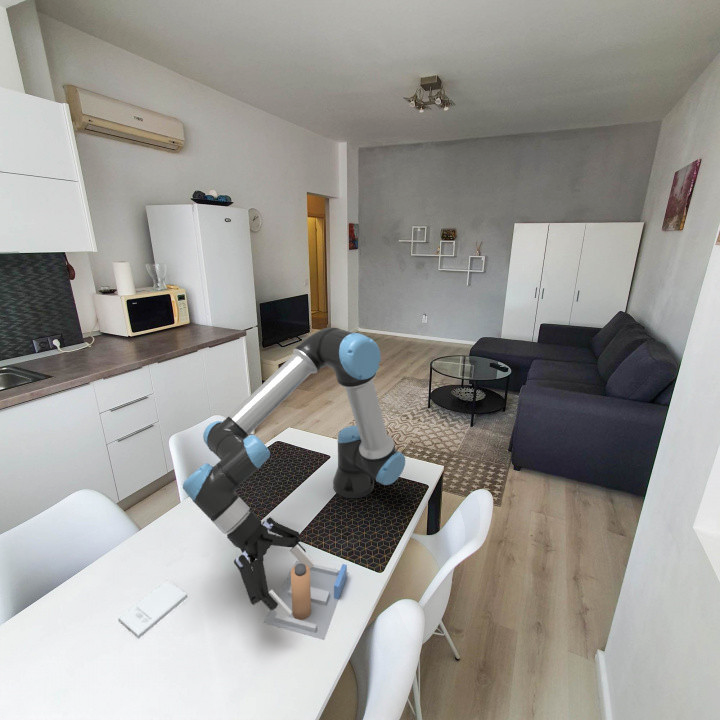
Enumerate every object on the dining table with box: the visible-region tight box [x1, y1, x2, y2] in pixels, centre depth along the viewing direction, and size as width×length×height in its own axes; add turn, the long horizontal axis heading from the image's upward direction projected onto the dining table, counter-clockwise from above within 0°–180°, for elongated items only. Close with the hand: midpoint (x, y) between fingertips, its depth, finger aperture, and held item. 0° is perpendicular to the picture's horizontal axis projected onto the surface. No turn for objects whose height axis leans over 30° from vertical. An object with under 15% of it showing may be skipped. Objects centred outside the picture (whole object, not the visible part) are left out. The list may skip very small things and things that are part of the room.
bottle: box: [290, 564, 311, 620], centre depth 89 cm, size 4×4×13 cm
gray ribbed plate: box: [263, 560, 349, 641], centre depth 95 cm, size 15×19×5 cm
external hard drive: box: [117, 580, 188, 639], centre depth 93 cm, size 2×8×12 cm
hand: (300, 589), depth 89 cm, fingers open, 13 cm apart
